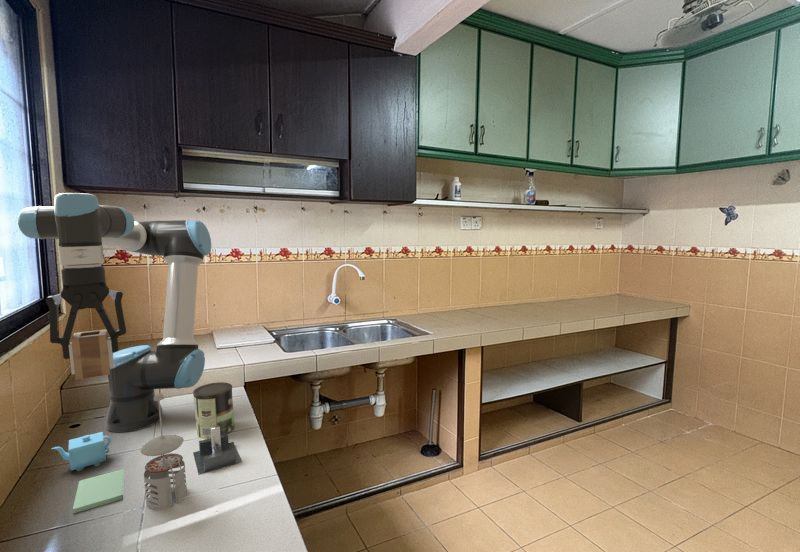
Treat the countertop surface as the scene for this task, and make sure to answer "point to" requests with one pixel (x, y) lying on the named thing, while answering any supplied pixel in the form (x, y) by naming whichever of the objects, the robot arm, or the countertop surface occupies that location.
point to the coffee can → (213, 408)
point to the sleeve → (90, 354)
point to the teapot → (85, 451)
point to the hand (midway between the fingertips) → (93, 369)
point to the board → (99, 490)
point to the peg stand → (215, 452)
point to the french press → (164, 468)
